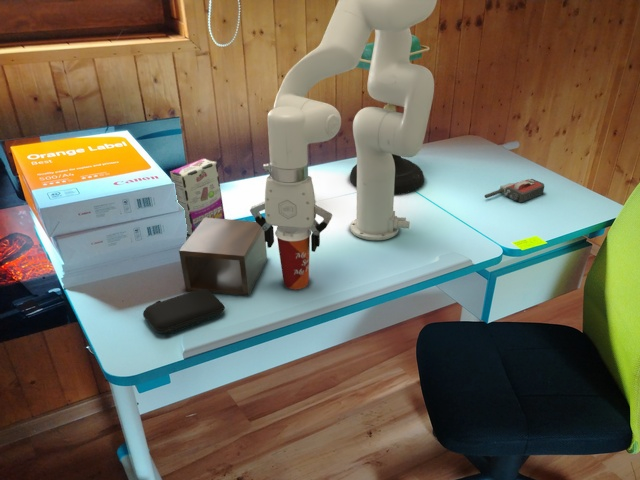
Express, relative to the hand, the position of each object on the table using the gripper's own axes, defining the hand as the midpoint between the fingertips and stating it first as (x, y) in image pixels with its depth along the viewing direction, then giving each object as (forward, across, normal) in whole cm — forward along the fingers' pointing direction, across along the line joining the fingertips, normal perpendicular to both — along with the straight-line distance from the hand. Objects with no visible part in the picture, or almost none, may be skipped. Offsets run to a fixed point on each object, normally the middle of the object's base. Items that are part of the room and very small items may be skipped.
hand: (292, 246), depth 136 cm
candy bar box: (+10, -29, +24) cm, 39 cm away
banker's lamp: (+8, +15, +64) cm, 66 cm away
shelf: (+10, -16, +2) cm, 18 cm away
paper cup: (+10, 0, +1) cm, 10 cm away
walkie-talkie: (+8, +54, +59) cm, 80 cm away
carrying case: (+10, -20, -16) cm, 27 cm away
